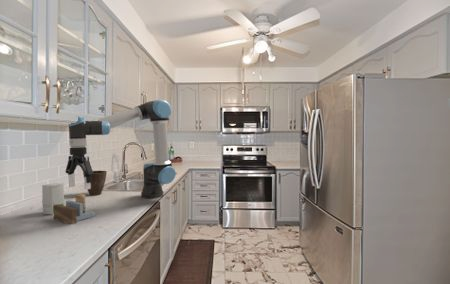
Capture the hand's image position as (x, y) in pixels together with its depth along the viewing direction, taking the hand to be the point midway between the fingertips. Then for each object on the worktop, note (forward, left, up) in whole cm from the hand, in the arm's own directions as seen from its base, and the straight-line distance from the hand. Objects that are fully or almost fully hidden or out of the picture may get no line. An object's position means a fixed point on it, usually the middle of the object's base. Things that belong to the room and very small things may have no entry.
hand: (79, 188), depth 133 cm
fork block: (+1, 0, -15) cm, 15 cm away
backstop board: (+8, 0, -15) cm, 17 cm away
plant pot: (-35, -39, -15) cm, 54 cm away
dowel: (0, 0, -15) cm, 15 cm away
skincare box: (+3, -20, -15) cm, 25 cm away
